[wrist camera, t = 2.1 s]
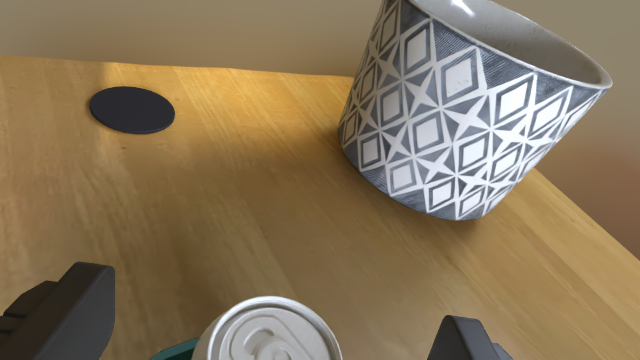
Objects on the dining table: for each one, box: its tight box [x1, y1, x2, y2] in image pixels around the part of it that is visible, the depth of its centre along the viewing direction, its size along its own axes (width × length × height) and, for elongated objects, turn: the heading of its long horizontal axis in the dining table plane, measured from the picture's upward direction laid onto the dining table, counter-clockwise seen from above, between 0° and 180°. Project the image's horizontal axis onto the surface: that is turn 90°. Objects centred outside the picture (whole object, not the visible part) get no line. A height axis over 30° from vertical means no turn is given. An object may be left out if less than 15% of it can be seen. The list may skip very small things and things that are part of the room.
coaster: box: [90, 86, 175, 134], centre depth 49 cm, size 9×9×1 cm
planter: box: [338, 0, 612, 220], centre depth 53 cm, size 26×26×22 cm
